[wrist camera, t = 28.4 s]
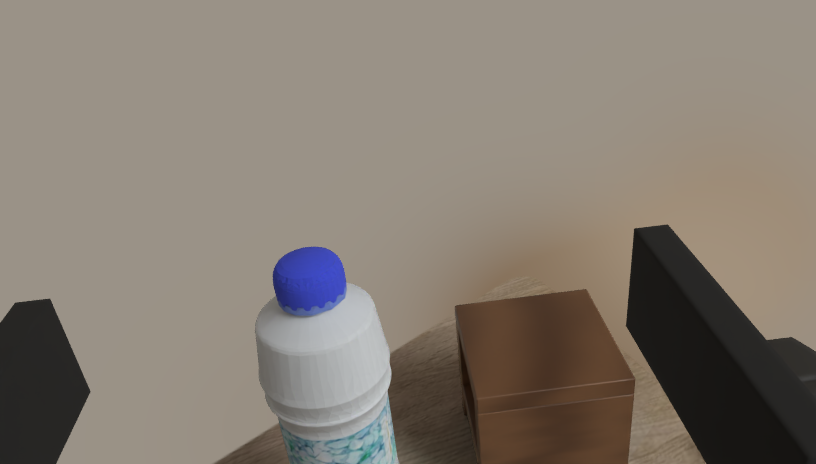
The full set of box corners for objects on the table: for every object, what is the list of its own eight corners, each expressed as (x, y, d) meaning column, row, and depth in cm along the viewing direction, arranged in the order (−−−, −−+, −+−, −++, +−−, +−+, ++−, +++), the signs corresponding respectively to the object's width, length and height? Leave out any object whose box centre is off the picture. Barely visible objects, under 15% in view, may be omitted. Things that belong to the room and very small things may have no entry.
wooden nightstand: (483, 506, 42) (476, 399, 38) (462, 404, 50) (454, 305, 45) (626, 487, 42) (636, 378, 38) (582, 388, 50) (586, 288, 46)
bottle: (426, 496, 43) (392, 223, 33) (397, 596, 38) (345, 303, 28) (328, 480, 45) (269, 217, 35) (287, 573, 39) (202, 291, 30)
